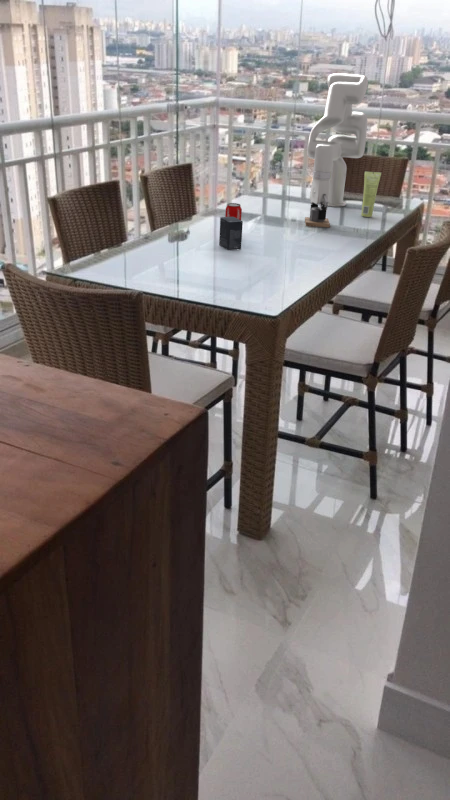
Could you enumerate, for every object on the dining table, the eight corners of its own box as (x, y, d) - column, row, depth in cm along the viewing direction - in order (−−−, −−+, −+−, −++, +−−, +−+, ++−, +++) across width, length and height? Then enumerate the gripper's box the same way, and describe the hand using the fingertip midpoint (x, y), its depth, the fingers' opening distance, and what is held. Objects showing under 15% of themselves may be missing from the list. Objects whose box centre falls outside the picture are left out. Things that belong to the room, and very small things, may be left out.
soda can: (242, 234, 279) (244, 204, 273) (236, 238, 273) (238, 207, 268) (228, 232, 281) (229, 202, 275) (221, 235, 276) (223, 204, 270)
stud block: (304, 220, 305) (305, 208, 303) (327, 221, 305) (329, 210, 303) (305, 226, 297) (306, 213, 294) (329, 227, 296) (330, 215, 294)
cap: (321, 222, 297) (322, 210, 294) (307, 220, 299) (309, 208, 297) (326, 220, 302) (327, 208, 299) (312, 218, 304) (314, 206, 302)
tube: (366, 214, 322) (372, 170, 313) (375, 216, 319) (381, 172, 310) (358, 215, 319) (364, 171, 310) (367, 218, 316) (373, 173, 307)
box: (241, 249, 259) (243, 220, 254) (227, 250, 257) (229, 221, 252) (232, 244, 265) (233, 216, 261) (218, 245, 263) (219, 216, 258)
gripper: (306, 171, 298) (302, 212, 306) (320, 179, 283) (316, 221, 291) (323, 171, 300) (318, 212, 308) (338, 179, 285) (333, 221, 293)
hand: (317, 216), depth 299 cm, fingers open, 9 cm apart
